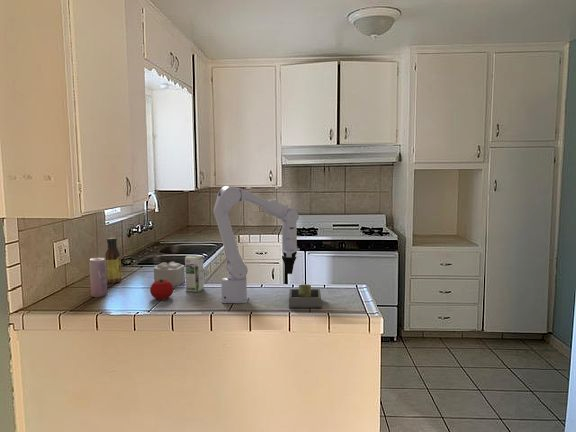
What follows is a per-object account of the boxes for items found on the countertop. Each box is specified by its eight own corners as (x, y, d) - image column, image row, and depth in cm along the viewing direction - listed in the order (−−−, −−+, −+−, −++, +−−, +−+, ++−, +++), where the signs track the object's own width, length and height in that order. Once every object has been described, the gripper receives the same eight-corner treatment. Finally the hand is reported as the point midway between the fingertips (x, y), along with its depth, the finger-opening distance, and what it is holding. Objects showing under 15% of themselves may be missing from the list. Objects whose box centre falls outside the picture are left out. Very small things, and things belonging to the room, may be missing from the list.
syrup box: (185, 291, 180) (184, 257, 178) (192, 287, 185) (191, 254, 184) (197, 292, 178) (196, 257, 176) (204, 288, 184) (203, 254, 182)
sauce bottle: (123, 282, 195) (121, 238, 193) (108, 284, 191) (106, 239, 189) (119, 279, 200) (117, 236, 198) (105, 281, 197) (103, 238, 195)
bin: (288, 308, 157) (288, 298, 156) (289, 298, 168) (289, 288, 168) (321, 308, 156) (321, 298, 156) (319, 299, 168) (319, 289, 167)
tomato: (145, 300, 168) (144, 280, 167) (160, 294, 176) (159, 275, 175) (164, 303, 164) (163, 282, 163) (178, 296, 172) (177, 276, 172)
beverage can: (102, 292, 179) (99, 256, 177) (110, 294, 176) (108, 258, 174) (88, 295, 174) (86, 259, 173) (96, 298, 171) (94, 261, 169)
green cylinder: (298, 303, 160) (298, 287, 159) (298, 299, 164) (298, 284, 164) (311, 303, 160) (311, 287, 159) (310, 299, 164) (310, 284, 164)
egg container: (176, 286, 188) (176, 266, 187) (149, 284, 190) (148, 265, 189) (187, 280, 198) (186, 261, 197) (160, 278, 200) (159, 260, 199)
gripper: (299, 241, 164) (299, 275, 166) (299, 235, 179) (299, 267, 180) (280, 241, 165) (281, 275, 166) (282, 235, 179) (282, 267, 181)
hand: (289, 271), depth 173 cm, fingers open, 7 cm apart
